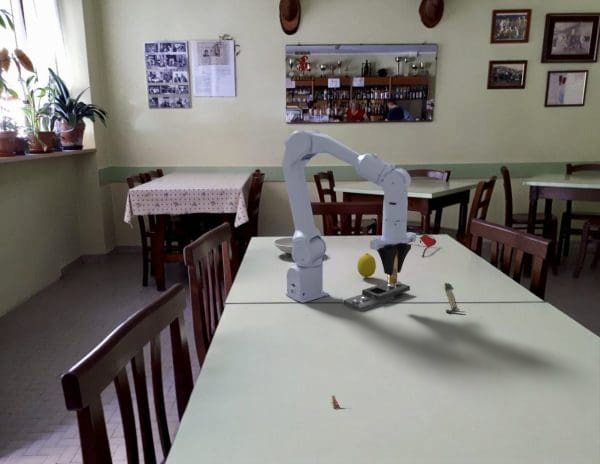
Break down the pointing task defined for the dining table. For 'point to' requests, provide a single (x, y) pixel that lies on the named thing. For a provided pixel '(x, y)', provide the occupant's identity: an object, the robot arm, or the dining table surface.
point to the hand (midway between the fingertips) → (392, 272)
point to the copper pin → (393, 278)
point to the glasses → (426, 241)
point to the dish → (284, 244)
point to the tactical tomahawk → (451, 301)
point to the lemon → (366, 265)
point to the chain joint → (376, 296)
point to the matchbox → (335, 402)
